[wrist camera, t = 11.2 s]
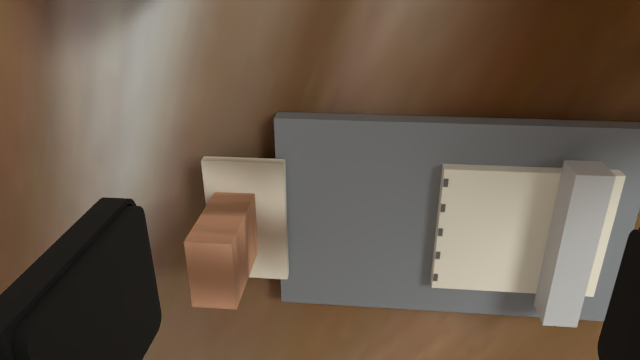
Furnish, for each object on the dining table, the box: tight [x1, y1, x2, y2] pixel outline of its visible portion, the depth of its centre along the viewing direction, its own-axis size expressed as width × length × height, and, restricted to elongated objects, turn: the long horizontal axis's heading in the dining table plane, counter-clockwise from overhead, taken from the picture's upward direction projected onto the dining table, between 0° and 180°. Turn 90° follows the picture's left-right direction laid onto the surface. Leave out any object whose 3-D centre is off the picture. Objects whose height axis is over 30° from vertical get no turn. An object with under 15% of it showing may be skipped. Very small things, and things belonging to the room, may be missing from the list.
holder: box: [274, 112, 640, 327], centre depth 39 cm, size 16×26×5 cm, turn 90°
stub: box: [184, 156, 289, 310], centre depth 37 cm, size 10×6×8 cm, turn 0°
